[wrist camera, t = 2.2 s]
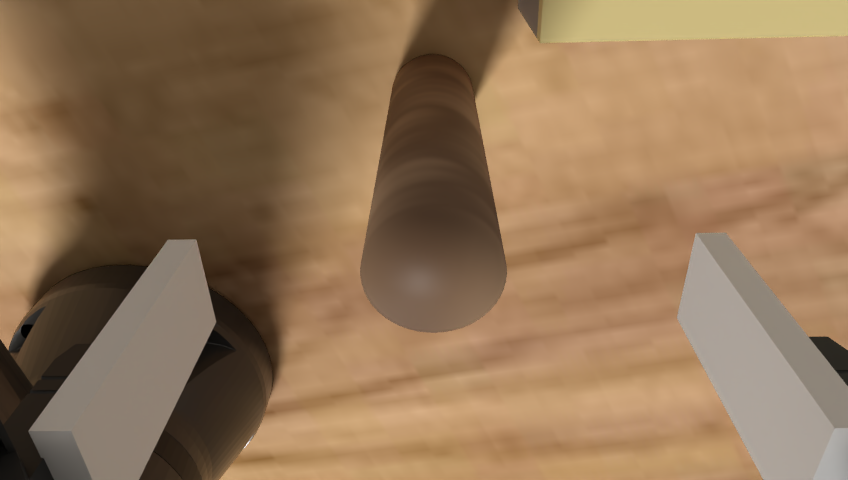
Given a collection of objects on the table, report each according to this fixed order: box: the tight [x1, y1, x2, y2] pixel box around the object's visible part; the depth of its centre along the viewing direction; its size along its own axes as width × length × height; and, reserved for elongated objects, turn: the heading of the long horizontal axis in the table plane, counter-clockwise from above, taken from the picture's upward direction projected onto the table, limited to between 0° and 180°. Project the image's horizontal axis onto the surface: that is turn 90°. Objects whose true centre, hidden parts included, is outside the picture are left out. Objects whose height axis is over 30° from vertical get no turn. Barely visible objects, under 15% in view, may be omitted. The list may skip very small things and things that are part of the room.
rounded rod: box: [360, 54, 507, 333], centre depth 24 cm, size 4×4×16 cm
